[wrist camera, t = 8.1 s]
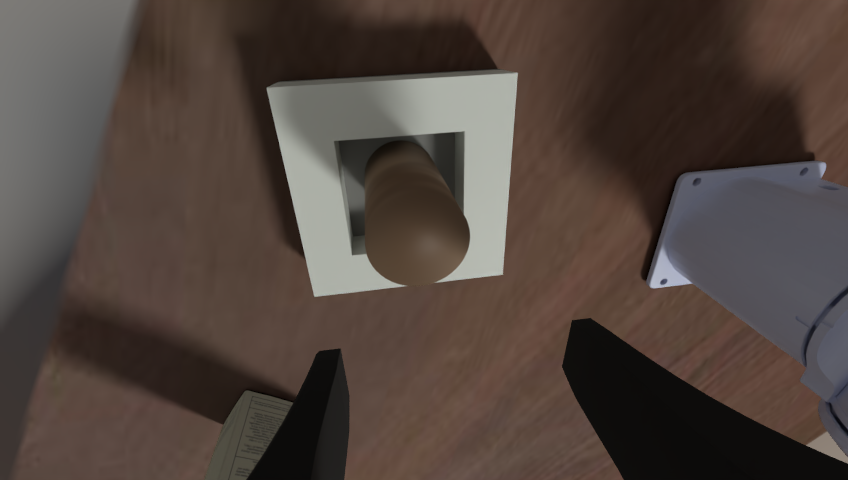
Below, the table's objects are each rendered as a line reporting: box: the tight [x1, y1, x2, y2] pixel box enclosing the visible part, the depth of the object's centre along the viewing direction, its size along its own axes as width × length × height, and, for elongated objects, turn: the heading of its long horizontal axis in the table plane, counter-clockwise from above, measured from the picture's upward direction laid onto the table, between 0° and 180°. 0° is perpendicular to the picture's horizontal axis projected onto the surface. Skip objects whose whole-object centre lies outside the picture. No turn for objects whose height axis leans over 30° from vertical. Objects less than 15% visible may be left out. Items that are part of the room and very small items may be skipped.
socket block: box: [267, 69, 518, 297], centre depth 18 cm, size 10×10×2 cm
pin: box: [365, 140, 470, 286], centre depth 16 cm, size 4×4×7 cm
